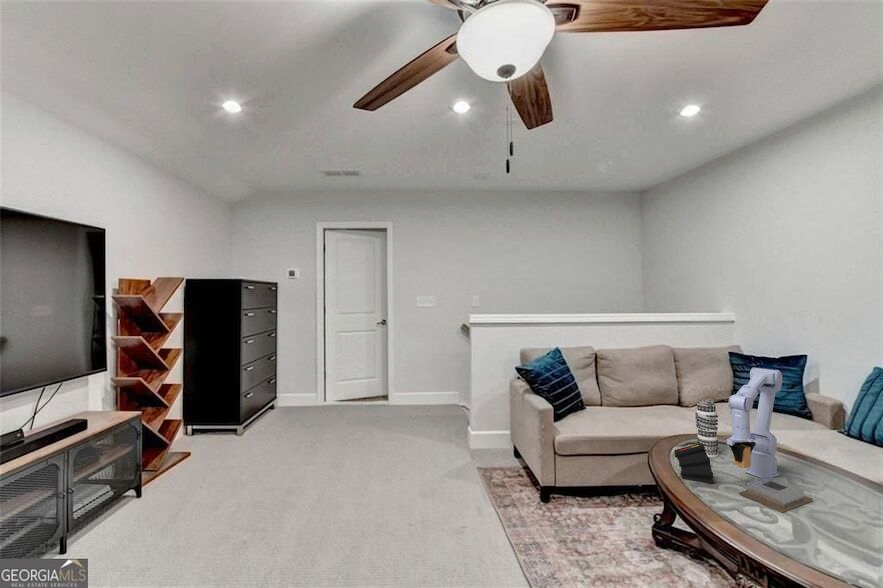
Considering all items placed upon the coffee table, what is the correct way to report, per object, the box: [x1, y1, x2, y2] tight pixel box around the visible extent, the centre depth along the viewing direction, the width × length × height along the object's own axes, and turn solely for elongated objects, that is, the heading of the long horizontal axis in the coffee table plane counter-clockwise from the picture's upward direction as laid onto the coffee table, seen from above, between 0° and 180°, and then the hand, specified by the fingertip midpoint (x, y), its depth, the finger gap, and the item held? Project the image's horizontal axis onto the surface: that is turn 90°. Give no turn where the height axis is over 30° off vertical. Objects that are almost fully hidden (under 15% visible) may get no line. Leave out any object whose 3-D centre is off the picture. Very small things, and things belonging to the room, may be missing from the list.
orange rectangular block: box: [732, 444, 751, 469], centre depth 162 cm, size 4×4×8 cm
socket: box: [739, 476, 814, 514], centre depth 152 cm, size 18×14×4 cm
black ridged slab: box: [673, 443, 714, 485], centre depth 168 cm, size 4×13×15 cm, turn 58°
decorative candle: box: [694, 398, 720, 458], centre depth 194 cm, size 9×9×25 cm
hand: (742, 460), depth 162 cm, fingers closed on orange rectangular block, 4 cm apart
